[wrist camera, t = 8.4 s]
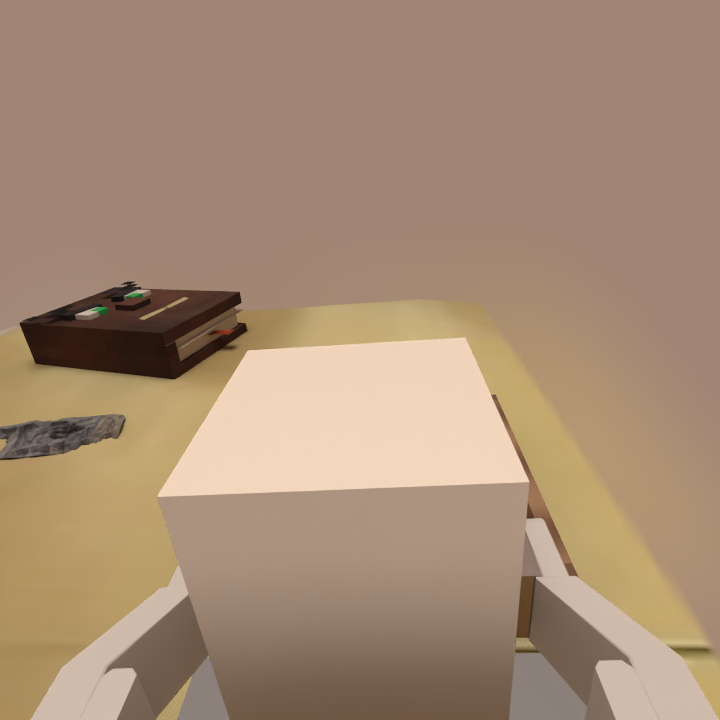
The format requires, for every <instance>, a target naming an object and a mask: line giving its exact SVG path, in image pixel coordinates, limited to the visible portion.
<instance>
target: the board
mask: <svg viewBox="0 0 720 720" xmlns="http://www.w3.org/2000/svg"><path fill="white" fill-rule="evenodd" d="M586 711H587V706H586V705H585V703H584V702H583V701H582V700H581V699H580V698H579V697H578V695H577V694H576V693H575V692H574V691H573V690H572V688H571V687H570V686H569V685H568V684H567V683H566V682H565V680H564V679H563V678H562V677H561V676H560V675H559V674H558V672H557V671H556V670H555V669H554V668H553V667H552V666H551V664H550V663H549V662H548V661H547V660H546V659H545V657H544V656H543V655H542V654H541V653H515V656H514V668H513V680H512V691H511V703H510V714H509V720H585V716H586ZM177 720H230V719H229V716H228V713H227V710H226V707H225V704H224V701H223V698H222V695H221V692H220V688H219V685H218V682H217V679H216V676H215V673H214V670H213V667H212V664H211V661H210V658H206V659H205V660H204V661H203V663H202V664H201V665H200V666H199V667H198V669H197V670H196V671H195V672H194V674H193V676H192V679H191V682H190V685H189V688H188V691H187V694H186V697H185V699H184V702H183V705H182V708H181V711H180V714H179V717H178V719H177Z"/></svg>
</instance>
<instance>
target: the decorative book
mask: <svg viewBox="0 0 720 720" xmlns="http://www.w3.org/2000/svg"><path fill="white" fill-rule="evenodd" d="M132 283H134V282H126V283H123V284H124V285H125V284H129V285H127V286H125V287H118V288H117V287H115V288H112V289H109V290H106V291H104V292H101V293H98V294H96V295H93V296H90V297H88V298H85V299H82V300H80V301H77V302H74V303H72V304H69V305H66V306H63V307H61V308H58V309H56V310H53V311H50V312H47V313H45V314H42V315H39V316H37V317H32V318H29V319H26V320H23V322H21V323H20V326H21V328H22V331H23V333H24V336H25V338H26V341H27V343H28V346H29V348H30V351H31V353H32V356H33V358H34V360H35V363H36V364H43V365H52V366H60V367H69V368H78V369H87V370H96V371H105V372H114V373H123V374H132V375H141V376H149V377H158V378H167V379H176V378H178V377H179V376H181V375H182V374H184V373H185V372H187V371H188V370H190V369H191V368H193V367H194V366H196V365H197V364H199V363H200V362H202V361H203V360H205V359H206V358H207V357H209V356H210V355H212V354H213V353H215V352H216V351H218V350H219V349H221V348H222V347H224V346H225V345H227V344H228V343H230V342H231V341H233V340H234V339H236V338H237V337H239V336H240V335H242V334H243V333H245V332H246V331H247V328H246V323H238V322H237V317H236V314H237V313H239V312H240V311H242V309H235V306H236V305H238V304H240V303H241V297H240V292H226V291H193V290H163V289H141V287H133V286H136V285H137V284H132Z"/></svg>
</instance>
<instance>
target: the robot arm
mask: <svg viewBox="0 0 720 720" xmlns="http://www.w3.org/2000/svg"><path fill="white" fill-rule="evenodd" d="M516 638H529V640H530V641H531V643H532V644H533V645H534V646H535V647H536V648H537V649H538V651H539V652H540V653H541V654H542V655H543V656H544V657H545V659H546V660H547V661H548V662H549V663H550V664H551V666H552V667H553V668H554V669H555V670H556V671H557V672H558V674H559V675H560V676H561V677H562V678H563V679H564V680H565V682H566V683H567V684H568V685H569V686H570V687H571V688H572V690H573V691H574V692H575V693H576V694H577V695H578V697H579V698H580V699H581V700H582V701H583V702H584V703H585V705H586V706H587V711H586V716H585V720H719V719H718V717H717V715H716V714H715V712H714V710H713V709H712V707H711V705H710V704H709V702H708V700H707V699H706V697H705V695H704V693H703V692H702V690H701V688H700V687H699V685H698V683H697V682H696V680H695V678H694V676H693V675H692V673H691V671H690V670H689V668H688V666H687V665H686V663H685V661H684V659H683V658H682V657H681V656H680V655H678V654H677V653H676V652H674V651H673V650H672V649H670V648H669V647H668V646H667V645H665V644H664V643H663V642H661V641H660V640H659V639H658V638H656V637H655V636H654V635H652V634H651V633H650V632H648V631H647V630H646V629H645V628H643V627H642V626H641V625H639V624H638V623H637V622H635V621H634V620H633V619H632V618H630V617H629V616H628V615H626V614H625V613H624V612H622V611H621V610H620V609H619V608H617V607H616V606H615V605H613V604H612V603H611V602H609V601H608V600H607V599H606V598H604V597H603V596H602V595H600V594H599V593H598V592H596V591H595V590H594V589H593V588H591V587H590V586H589V585H587V584H586V583H585V582H583V581H582V580H581V579H580V578H578V577H577V576H569V574H568V572H567V570H566V568H565V565H564V563H563V561H562V559H561V556H560V554H559V552H558V550H557V547H556V545H555V543H554V541H553V538H552V536H551V534H550V532H549V529H548V527H547V525H546V523H545V521H544V520H543V519H542V518H532V519H526V529H525V540H524V552H523V563H522V575H521V587H520V598H519V610H518V622H517V633H516ZM207 657H208V652H207V649H206V646H205V643H204V640H203V636H202V633H201V630H200V627H199V624H198V621H197V618H196V615H195V612H194V609H193V606H192V603H191V600H190V597H189V594H188V591H187V588H186V584H185V581H184V578H183V575H182V572H181V569H180V566H179V564H178V566H177V568H176V570H175V572H174V574H173V576H172V578H171V580H170V582H169V585H168V587H162V588H160V589H159V590H157V591H156V592H155V593H154V594H152V595H151V596H150V597H149V598H147V599H146V600H145V601H144V602H143V603H141V604H140V605H139V606H138V607H136V608H135V609H134V610H133V611H131V612H130V613H129V614H128V615H126V616H125V617H124V618H123V619H121V620H120V621H119V622H118V623H117V624H115V625H114V626H113V627H112V628H110V629H109V630H108V631H107V632H105V633H104V634H103V635H102V636H100V637H99V638H98V639H97V640H95V641H94V642H93V643H92V644H91V645H89V646H88V647H87V648H86V649H84V650H83V651H82V652H81V653H79V654H78V655H77V656H76V657H74V658H73V659H72V660H71V661H70V662H68V663H67V664H66V665H65V666H63V667H62V669H61V670H60V672H59V674H58V675H57V677H56V679H55V680H54V682H53V684H52V685H51V687H50V689H49V690H48V692H47V694H46V695H45V697H44V698H43V700H42V702H41V703H40V705H39V707H38V708H37V710H36V712H35V713H34V715H33V717H32V718H31V720H156V718H157V717H158V715H159V714H160V713H161V712H162V711H163V709H164V708H165V707H166V706H167V705H168V703H169V702H170V701H171V700H172V699H173V697H174V696H175V695H176V694H177V693H178V691H179V690H180V689H181V688H182V687H183V685H184V684H185V683H186V682H187V681H188V679H189V678H190V677H191V676H192V675H193V673H194V672H195V671H196V670H197V669H198V667H199V666H200V665H201V664H202V663H203V661H204V660H205V659H206V658H207Z"/></svg>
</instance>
